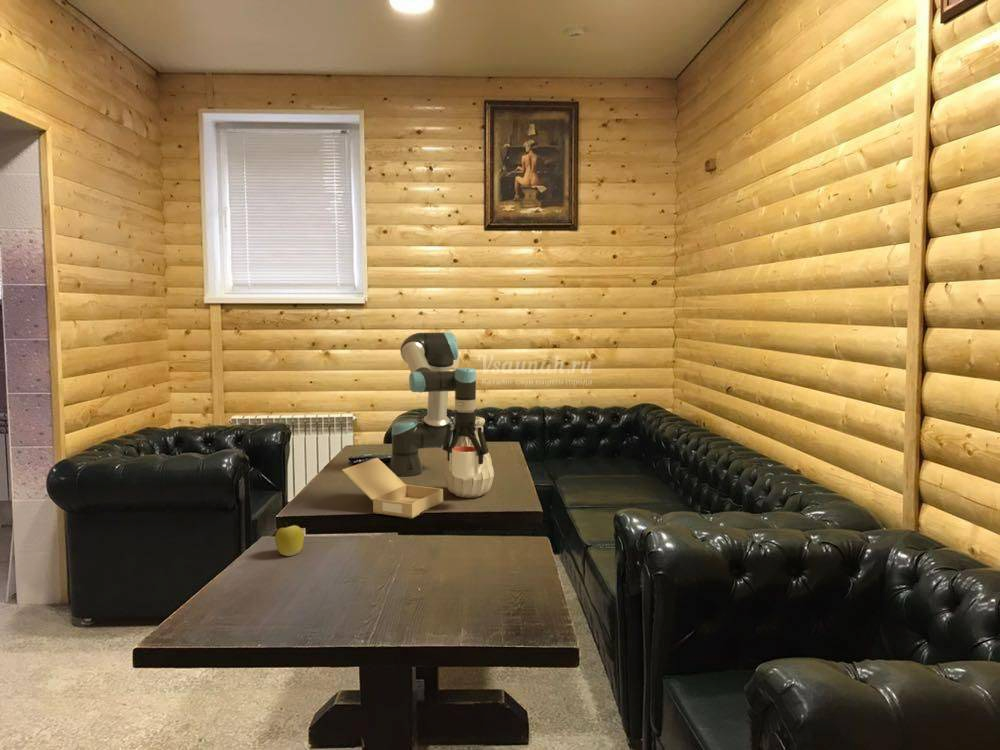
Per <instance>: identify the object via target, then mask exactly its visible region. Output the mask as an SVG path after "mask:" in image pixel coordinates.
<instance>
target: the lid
mask: <svg viewBox="0 0 1000 750" xmlns="http://www.w3.org/2000/svg"><path fill="white" fill-rule="evenodd" d="M388 467H389V466H387V465H386V464H385V463H384V462H383V461H381V460H380V459H379V458H378V457H376V458H372V459H369V460H366V461H363V462H361V463H360V462H359V463H358V464H355V465H352V466H349V467H345V468H343V469H342V470H341V472H343V473H344V474H345V475H346V477H348V478H349V479H350V480H351V481H352V482H353V484H355V485H356V486H357V487H358V489H360V490H361V491H362V492H363V493H364V494H365V495H366V496H367V497H368V498H369V499H370V500H371V501H373V499H374V498H376V497H379V496H381V495H383V494H386V493H388V492H390V491H393V490H395V489H397V488H400V487H402V486H404V485H407V484H406V483H404V481H403V480H402V479H400V478H399V476H396V475H395V474H394V473H393V472H392V471H391V470H390V469H389V468H388Z"/></svg>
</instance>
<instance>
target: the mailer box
mask: <svg viewBox="0 0 1000 750" xmlns="http://www.w3.org/2000/svg"><path fill="white" fill-rule="evenodd" d="M442 503H444V488H438V487H429V486H428V487H427V486H420V485H413V484H406V485H404V486H402V487H400V488H397V489H395V490H393V491H390V492H388V493H386V494H383V495H381V496H379V497H376V498H374V499H373V500H372V513H374V514H380V515H386V516H394V517H399V518H407V519H414V518H415V517H417V516H420V515H421V514H422V513H421V512H422V511H424V510H427V509H429V508H431V507H433V508H434V506H435V507H437V506H438V505H441V504H442ZM431 509H432V508H431ZM429 510H430V509H429ZM427 511H428V510H427ZM420 513H421V514H420Z"/></svg>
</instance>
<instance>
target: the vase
mask: <svg viewBox="0 0 1000 750" xmlns="http://www.w3.org/2000/svg"><path fill="white" fill-rule="evenodd" d="M485 422H486V420H485V418H484V417H480V416H476V422H475V424H476V426H478V427H482V426H483V427H484V425H485ZM452 424H455V417H453V419H452ZM474 432H475V434H476V438H477V440H478V442H479V444H480V441H479V437H478V433H477V430H475V431H474ZM461 446H471V447H474V446H473V444H472V442H471V440H470V439H469V437H465V436H461V437H460V438H459V440H458V442H457V444H456V446H455V447H461ZM480 446H481V445H480ZM455 447H454V448H455ZM446 457H447V458H446V462H445V468H444V472H443V479H444V482H445V486H446V488H447V489H448V491H449V492H451V493H452V494H454V495H455V496H456V497H459V498H465V499H468V498H471V499H473V498H478V497H481V496H483V495H484V494H485V493H487V492H488V491H489V490H490V489H491V488H492V484H493V481H494V478H495V472H494V471H495V470H494V467H493V463H492V462H493V461H492V457H491V455H490V453H489V451H488V453H487V454H485V455H483V464H481V472H480V473H479V475H478V476H477V477H475V478H470V479H461V478H456V477H454V476H453V474H452V471H450V461H448V456H446Z"/></svg>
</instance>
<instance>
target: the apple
mask: <svg viewBox="0 0 1000 750" xmlns="http://www.w3.org/2000/svg"><path fill="white" fill-rule="evenodd" d="M285 524H286V527H280V528H279V529H277V531H276V533H275V536H274V541H275V546H276V548H277V551H278V553H279V554H280V555H282V556H286V557H292V556H295V555H297V554H299V553H300V552H301V551H302V549H303V546H304V540H305V537H304V532H303V529H302V528H301V527H300V526H299V525H295V524H293V525H290V526H288V523H287V522H285Z"/></svg>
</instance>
